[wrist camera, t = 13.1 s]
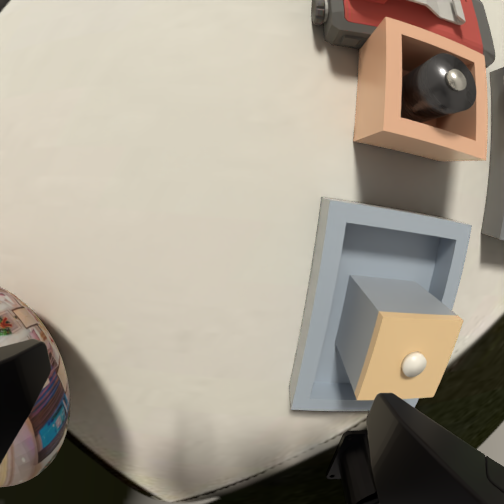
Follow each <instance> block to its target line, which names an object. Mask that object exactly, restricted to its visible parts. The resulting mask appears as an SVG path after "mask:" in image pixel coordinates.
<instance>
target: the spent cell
mask: <svg viewBox="0 0 504 504" xmlns="http://www.w3.org/2000/svg"><path fill="white" fill-rule="evenodd" d="M476 92H477V91H476V84H475V80H474V78H473V76H472V74H471V72H470V70H469V69H468V67H467V66H466V65H465V64H464V63H463V62H462V61H461V60H460V59H458V58H457V57H455V56H453V55H450V54H446V53H440V54H437V55H435V56H433V57H432V58H430V59H429V60H427V61H426V62H424V63H423V64H421V65H420V66H418V67H417V68H415V69H414V70H412V71H411V72H409V73H408V74H406V75H405V76H403V77H402V96H401V118H405V119H409V120H412V121H416V122H419V123H422V122H426V121H429V120H433V119H436V118H439V117H443V116H447V115H450V114H454V113H457V112H461V111H465V110H467V109H469V108H471V106H472V105H473V104H474V102H475V99H476Z"/></svg>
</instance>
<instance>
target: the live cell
mask: <svg viewBox="0 0 504 504" xmlns="http://www.w3.org/2000/svg"><path fill="white" fill-rule="evenodd" d="M462 323H463V320H462V319H461V318H460V317H459V316H457V315H456V314H455V313H454V312H453V311H451V310H450V309H449V308H448V307H447V306H445V305H444V304H443V303H442V302H440V301H439V300H438V299H437V298H435V297H434V296H433V295H432V294H430V293H429V292H428V291H427V290H425V289H424V288H423V287H422V286H420V285H419V284H418V283H416V282H415V281H408V280H398V279H388V278H378V277H369V276H359V275H349V280H348V285H347V290H346V295H345V300H344V304H343V309H342V313H341V318H340V322H339V327H338V331H337V335H336V339H335V343H336V346H337V348H338V351H339V353H340V356H341V359H342V361H343V364H344V367H345V369H346V372H347V375H348V377H349V380H350V383H351V385H352V388H353V391H354V394H355V396H356V399H357V400H374V399H375V397H376V395H377V394H379V393H394V394H395V395H397V396H398V397H399V398H401V399H412V398H426V397H433V396H434V394H435V392H436V390H437V387H438V385H439V383H440V381H441V378H442V376H443V374H444V371H445V369H446V366H447V364H448V361H449V359H450V356H451V354H452V351H453V349H454V346H455V343H456V340H457V338H458V335H459V332H460V329H461V326H462Z"/></svg>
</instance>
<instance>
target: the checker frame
mask: <svg viewBox="0 0 504 504" xmlns="http://www.w3.org/2000/svg"><path fill="white" fill-rule="evenodd" d="M490 81H491V103H492V134H491V157H490V171H489V181H488V191H487V199H486V206H485V213H484V219H483V226H482V231H481V233H482V234H485V235H488V236H491V237H494V238H497V239H500V240H504V67H503V68H500V69H498V70H495V71H492V72H490Z"/></svg>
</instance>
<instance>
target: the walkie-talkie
mask: <svg viewBox="0 0 504 504" xmlns="http://www.w3.org/2000/svg"><path fill="white" fill-rule="evenodd" d="M311 17H312V22H313V24H314V25H319V26H320V25H322V24H323V22H324V37H325V41H327V42H328V43H330V44H331V45H337V46H345V47H352V48H359V49H361V47H362V46H363V45H364V43H365V42H366V41H367V40H368V38H369V37H370V36H371V34H372V33H373V32H374V31H375V29H376V28H377V27H378V26H379V24H380V23H381V22H382V20H383V19H384V18H385V17H389V18H392V19H395V20H399V21H402V22H405V23H408V24H411V25H414V26H417V27H419V28H422V29H425V30H428V31H430V32H433V33H435V34H438V35H440V36H443V37H445V38H448V39H450V40H452V41H455V42H457V43H459V44H462V45H464V46H466V47H468V48H470V49H472V50H474V51H476V52H479V53H481V54H483V55H484V57H485V67H486V68H487V67H488V66H489V65H491V64H492V63H493V62H494V60H495V50H494V45H493V41H492V36H491V32H490V28H489V24H488V20H487V16H486V13H485V9H484V6H483V4H482V2H481V1H480V0H312V8H311Z"/></svg>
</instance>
